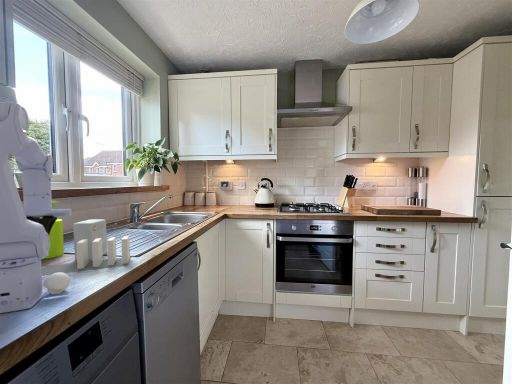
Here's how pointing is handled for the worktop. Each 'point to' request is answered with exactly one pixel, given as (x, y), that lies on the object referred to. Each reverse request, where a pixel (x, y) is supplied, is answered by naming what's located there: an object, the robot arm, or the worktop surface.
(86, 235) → the small box
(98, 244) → the domino
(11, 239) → the robot arm
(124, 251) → the domino
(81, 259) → the domino
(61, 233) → the soap dispenser
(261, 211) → the worktop surface
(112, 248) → the domino
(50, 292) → the mushroom
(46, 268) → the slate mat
